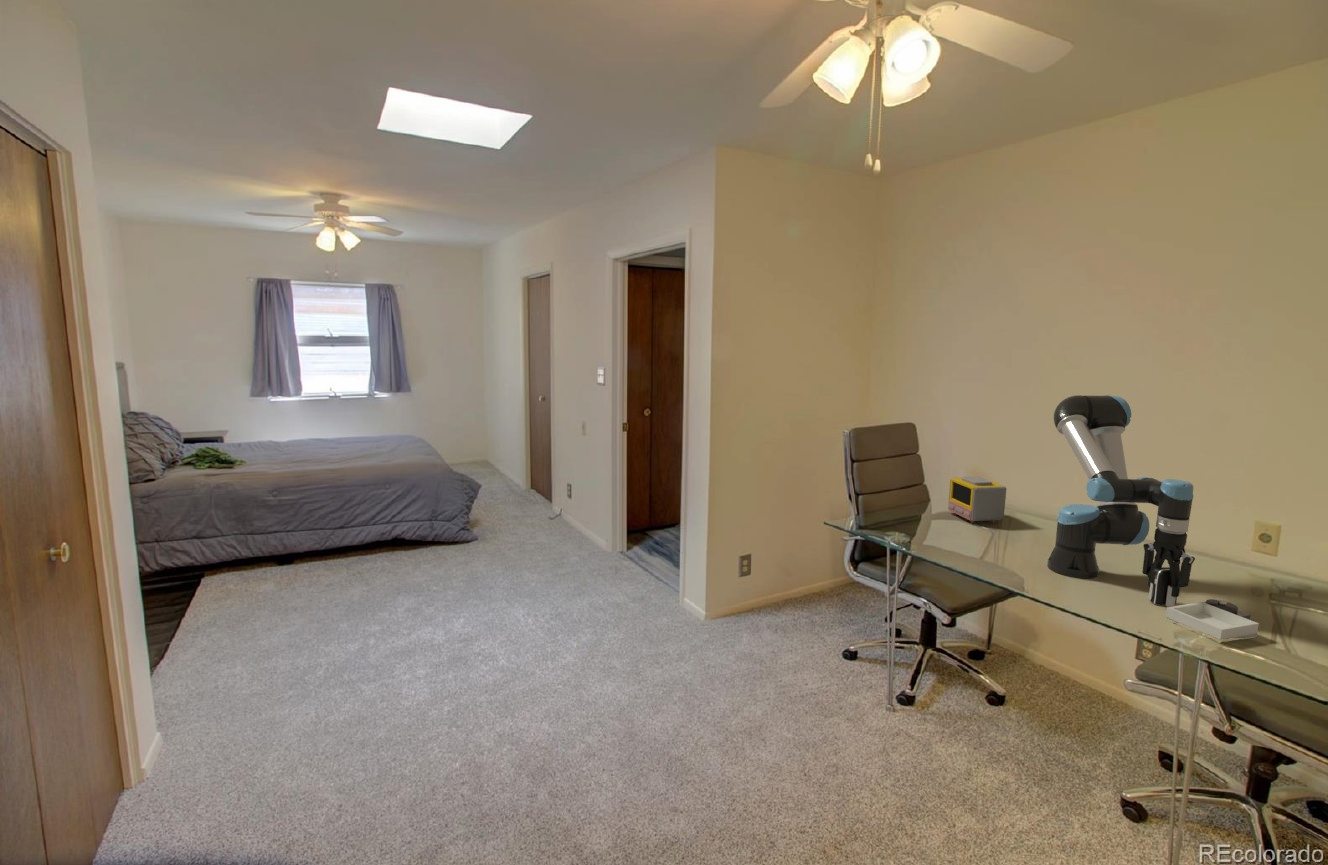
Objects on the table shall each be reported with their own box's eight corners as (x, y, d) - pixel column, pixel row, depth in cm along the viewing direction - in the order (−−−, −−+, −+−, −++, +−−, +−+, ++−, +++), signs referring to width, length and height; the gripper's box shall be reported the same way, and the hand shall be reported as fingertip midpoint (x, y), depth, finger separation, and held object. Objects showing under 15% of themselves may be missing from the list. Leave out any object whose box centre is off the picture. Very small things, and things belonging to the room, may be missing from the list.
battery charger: (1166, 599, 188) (1170, 565, 187) (1177, 605, 185) (1182, 570, 183) (1145, 600, 188) (1150, 566, 186) (1156, 606, 184) (1160, 570, 182)
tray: (1165, 620, 175) (1166, 607, 174) (1200, 614, 178) (1202, 601, 178) (1219, 643, 162) (1221, 629, 161) (1256, 636, 165) (1258, 623, 164)
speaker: (1191, 609, 182) (1193, 595, 181) (1211, 606, 184) (1213, 592, 183) (1229, 624, 172) (1232, 610, 171) (1249, 621, 174) (1252, 606, 173)
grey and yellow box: (945, 512, 282) (948, 474, 279) (976, 511, 284) (980, 473, 281) (971, 525, 263) (974, 485, 260) (1004, 524, 264) (1008, 483, 261)
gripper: (1133, 522, 190) (1124, 592, 194) (1193, 540, 173) (1182, 616, 177) (1151, 521, 192) (1142, 589, 196) (1212, 538, 175) (1201, 613, 179)
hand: (1161, 601), depth 186 cm, fingers closed on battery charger, 4 cm apart
